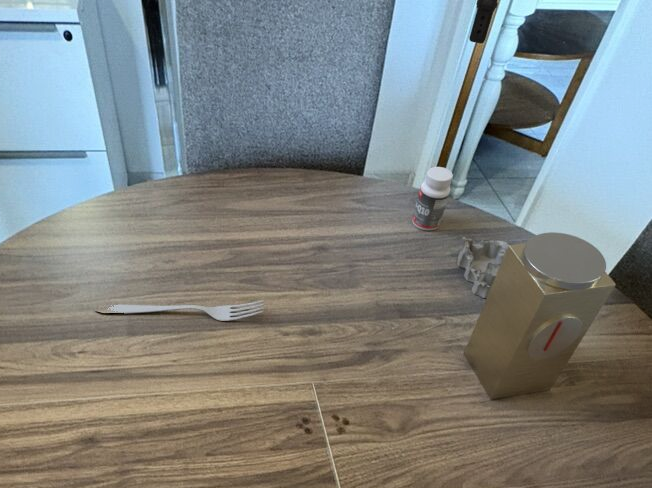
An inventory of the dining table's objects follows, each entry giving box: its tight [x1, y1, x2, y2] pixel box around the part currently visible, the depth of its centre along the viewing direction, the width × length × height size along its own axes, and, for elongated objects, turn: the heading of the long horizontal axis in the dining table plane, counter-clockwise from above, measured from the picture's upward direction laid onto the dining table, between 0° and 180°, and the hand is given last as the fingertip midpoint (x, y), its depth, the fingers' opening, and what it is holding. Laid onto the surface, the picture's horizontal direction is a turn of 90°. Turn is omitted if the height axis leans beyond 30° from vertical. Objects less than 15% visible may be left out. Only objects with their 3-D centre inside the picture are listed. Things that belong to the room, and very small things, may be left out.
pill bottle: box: [411, 166, 454, 231], centre depth 99 cm, size 5×5×8 cm
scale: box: [463, 231, 617, 401], centre depth 77 cm, size 9×10×18 cm
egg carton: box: [456, 235, 510, 299], centre depth 94 cm, size 11×8×4 cm
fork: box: [108, 300, 265, 322], centre depth 87 cm, size 3×24×2 cm, turn 90°
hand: (480, 29), depth 89 cm, fingers open, 8 cm apart
